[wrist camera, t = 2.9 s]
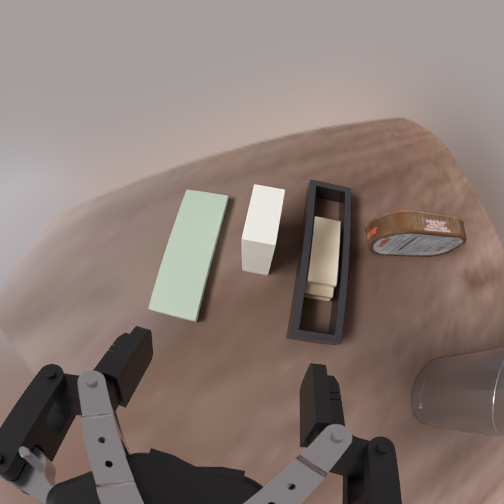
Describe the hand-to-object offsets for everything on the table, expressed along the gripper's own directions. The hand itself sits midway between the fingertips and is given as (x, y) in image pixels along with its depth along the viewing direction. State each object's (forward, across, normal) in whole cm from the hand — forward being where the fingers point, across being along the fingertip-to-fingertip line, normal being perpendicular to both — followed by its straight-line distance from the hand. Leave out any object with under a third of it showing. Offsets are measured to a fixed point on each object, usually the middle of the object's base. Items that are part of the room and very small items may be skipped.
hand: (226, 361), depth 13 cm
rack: (+21, -8, +2) cm, 23 cm away
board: (+20, +8, +4) cm, 22 cm away
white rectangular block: (+21, 0, +2) cm, 21 cm away
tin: (+24, -20, 0) cm, 31 cm away
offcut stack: (+21, -8, +3) cm, 23 cm away
